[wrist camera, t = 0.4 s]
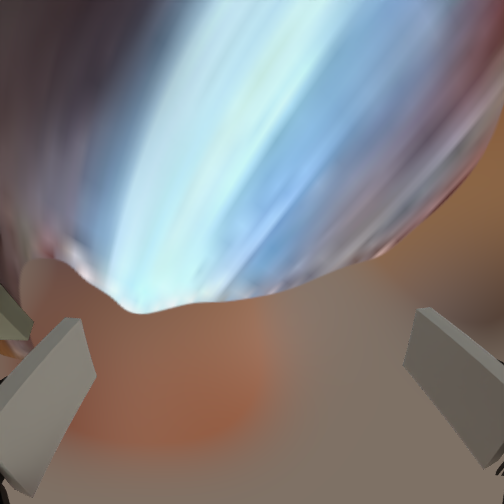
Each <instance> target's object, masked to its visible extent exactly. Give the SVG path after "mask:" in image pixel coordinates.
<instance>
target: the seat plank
mask: <svg viewBox="0 0 504 504" xmlns="http://www.w3.org/2000/svg"><path fill="white" fill-rule="evenodd" d="M33 323H34V322H33V320H32V319H31V318H30V317H29V316H28V315H27V314H26V313H25V312H24V311H23V310H22V308H21V307H20V306H19V305H18V304H17V303H16V302H15V301H14V299H13V298H12V297H11V296H10V295H9V294H8V292H7V291H6V290H5V289H4V288H3V286H2V285H1V284H0V340H29V336H30V333H31V330H32V326H33Z"/></svg>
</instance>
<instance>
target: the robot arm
mask: <svg viewBox="0 0 504 504" xmlns="http://www.w3.org/2000/svg"><path fill="white" fill-rule="evenodd" d="M403 366H404V367H405V369H406V370H407V371H408V372H409V374H410V375H411V376H412V377H413V378H414V380H415V381H416V382H417V383H418V385H419V386H420V387H421V388H422V390H423V391H424V392H425V393H426V395H427V396H428V397H429V398H430V400H431V401H432V402H433V403H434V405H435V406H436V407H437V409H438V410H439V411H440V412H441V414H442V415H443V416H444V417H445V419H446V420H447V421H448V423H449V424H450V425H451V427H452V428H453V429H454V430H455V432H456V433H457V434H458V436H459V437H460V438H461V440H462V441H463V442H464V444H465V445H466V446H467V448H468V449H469V450H470V452H471V453H472V455H473V456H474V457H475V459H476V460H477V461H478V463H479V464H480V465H481V466H482V468H483V469H485V468H487V467H489V466H490V465H492V464H493V463H495V462H496V461H498V460H499V459H500V457H501V456H502V455H503V453H504V363H503V362H501V361H499V360H497V359H496V358H494V357H493V356H492V355H491V354H489V353H488V352H487V351H486V350H485V349H483V348H482V347H481V346H480V345H478V344H477V343H476V342H475V341H473V340H472V339H470V337H468V336H467V335H466V334H465V333H463V332H462V331H461V330H459V329H458V328H457V327H455V326H454V325H453V324H451V323H450V322H449V321H448V320H447V319H445V318H444V317H442V316H441V315H440V314H439V313H437V312H436V311H435V310H433V309H432V308H422V309H417V310H416V314H415V319H414V323H413V328H412V332H411V336H410V340H409V344H408V348H407V352H406V355H405V359H404V363H403ZM96 377H97V376H96V372H95V369H94V366H93V363H92V359H91V356H90V353H89V349H88V345H87V342H86V338H85V334H84V330H83V326H82V322H81V319H78V318H64V319H63V320H62V321H61V322H60V323H59V324H58V325H57V326H56V327H55V328H54V329H53V330H52V331H51V332H50V333H49V334H48V335H47V336H46V337H45V338H44V339H43V340H42V341H41V342H40V343H39V344H38V345H37V346H36V347H35V348H34V349H33V350H32V351H31V352H30V353H29V354H28V355H27V356H26V357H25V358H24V359H23V361H22V362H21V363H20V364H19V365H18V366H17V367H16V368H15V369H14V370H13V371H12V372H11V373H10V375H9V376H7V377H5V378H3V379H2V380H0V504H10V503H9V499H8V495H7V492H6V489H5V487H4V486H3V485H2V482H3V480H4V478H5V479H6V480H7V482H8V483H9V484H10V485H11V486H12V487H13V488H14V489H15V490H17V491H19V492H21V493H23V494H25V495H27V496H30V497H32V498H33V497H34V494H35V492H36V490H37V488H38V486H39V484H40V481H41V479H42V477H43V475H44V473H45V471H46V469H47V467H48V465H49V463H50V461H51V459H52V457H53V455H54V453H55V451H56V449H57V447H58V445H59V443H60V441H61V439H62V438H63V436H64V434H65V432H66V430H67V428H68V426H69V425H70V423H71V421H72V419H73V417H74V415H75V414H76V412H77V410H78V408H79V406H80V405H81V403H82V401H83V399H84V398H85V396H86V394H87V392H88V391H89V389H90V387H91V385H92V384H93V382H94V380H95V379H96ZM503 468H504V462H503V463H502V464H501V466H500V467H499V468H498V469H497V471H496V475H498V474H499V473H500V472H501V471H502V470H503ZM502 476H504V472H503V473H502ZM503 504H504V496H503Z"/></svg>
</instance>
